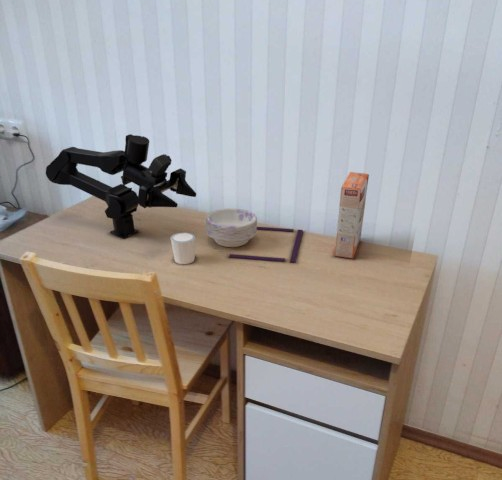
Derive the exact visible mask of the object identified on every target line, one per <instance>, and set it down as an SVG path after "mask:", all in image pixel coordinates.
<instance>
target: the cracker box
mask: <svg viewBox="0 0 502 480" xmlns="http://www.w3.org/2000/svg"><path fill="white" fill-rule="evenodd" d="M369 179H370V174H369V173H364V172H354V171H353V172H352V171H350V172H349V173H348V174H347V177H346V178H345V179H344V182H343V183H342V185H341V186H340V196H339V203H338V204H339V205H338V215H337V227H336V234H335V235H336V236H335V245H334V255H333V256H334V257H338V258H345V259H354V257H355V254H356V253H357V250H358V247H359V245H360V242H361V239H362V232H363V231H362V230H363V222H364V215H365V208H366V199H367V194H368V192H367V191H368V186H369V185H368V184H369Z"/></svg>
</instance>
